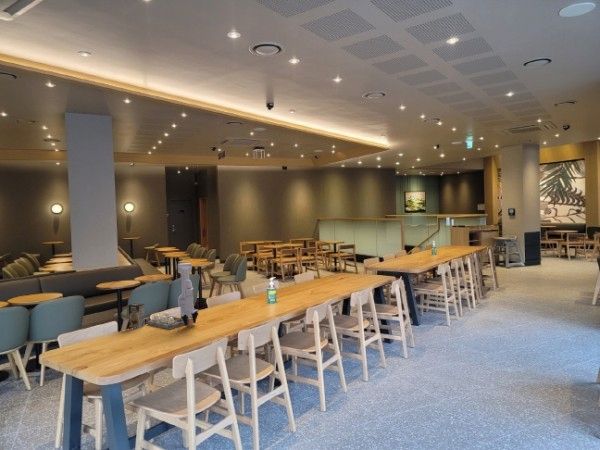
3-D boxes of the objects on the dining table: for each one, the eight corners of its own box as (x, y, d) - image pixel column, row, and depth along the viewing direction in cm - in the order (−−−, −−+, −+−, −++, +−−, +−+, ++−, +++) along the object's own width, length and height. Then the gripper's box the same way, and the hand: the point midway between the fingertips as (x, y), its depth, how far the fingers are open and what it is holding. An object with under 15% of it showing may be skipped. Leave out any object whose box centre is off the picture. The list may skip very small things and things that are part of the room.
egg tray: (167, 318, 319) (167, 309, 319) (190, 323, 305) (189, 314, 304) (147, 324, 305) (146, 315, 304) (169, 329, 290) (169, 319, 290)
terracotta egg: (190, 325, 300) (190, 317, 300) (194, 325, 298) (194, 317, 297) (185, 326, 296) (185, 318, 296) (189, 327, 294) (189, 319, 294)
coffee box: (128, 327, 298) (127, 304, 298) (134, 324, 305) (134, 302, 304) (139, 327, 296) (138, 305, 295) (145, 325, 302) (144, 303, 301)
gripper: (185, 308, 288) (185, 327, 289) (201, 303, 300) (201, 322, 301) (178, 307, 292) (179, 326, 293) (194, 302, 304) (195, 321, 305)
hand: (190, 324), depth 297 cm, fingers open, 7 cm apart
